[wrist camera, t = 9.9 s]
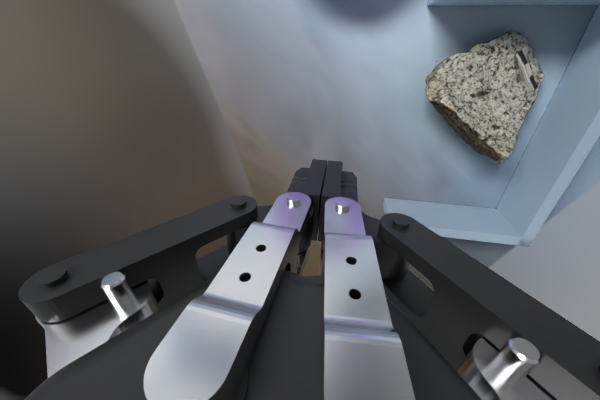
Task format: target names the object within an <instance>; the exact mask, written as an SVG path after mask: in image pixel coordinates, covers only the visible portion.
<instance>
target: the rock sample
mask: <svg viewBox="0 0 600 400" xmlns="http://www.w3.org/2000/svg"><path fill="white" fill-rule="evenodd" d="M436 62H437V61H436ZM544 78H545V75H544V74H543V72H542V70H541V68H540V66H539V64H538V62H537V60H536V59H535V57H534V56H533V52H532V47H531V46H530V45H529V43H528V39H527V38H526V37H524V36H523V35H521V34H520V33H519V32H518V33H517V32H516V31H510V32H506V33H505V34H504V35H502V36H500V37H497V38H496V39H494V40H492V41H490V42H489V43H486V44H483V43H478V44H477V45H475V46H474V47H473V48H472V49H471V50H470V51H468V52H467V53H458V54H454V55H451V56H449V57H448V58H447V59H445V60H444V61H443V62H441V63H440V64H439V65H437V66H436V67H435V69H434V70H433V71H432V72H431V74H429V75H428V76H427V77H426V84H427V86H426V88H425V89H426V95H427V96H428V100H429V101H430V103H432V104H433V105H434V107H435V109H436V110H437V111H438V112H439V113H440V114H441V115H442V116H443V118H444V119H445V120H446V121H447V123H448V124H449V125H450V126H452V127H453V128H454V130H455V131H456V132H457V133H458V134H459V135H460V136H461V138H462V139H463V140H464V141H465V142H466V143H467V144H468V143H469V144H470V145H471V146H472V147H473V148H474V150H475V151H476V152H479V153H480V154H481V155H486V156H488V157H490V158H491V159H493V160H496V161H498V162H499V163H501V162H503V160H504V159H507V158H508V157H509V156H510V154H511V153H512V151H513V147H514V145H515V144H516V140H517V137H518V131H519V129H520V128H521V126H522V125H523V122H524V120H525V117H526V115H527V113H528V112H529V110H530V108H531V106H532V104H533V103H534V101H535V99H536V97H537V93H538V90H539V86H540V84H541V82H542V81H543V80H544ZM494 165H495V164H494Z"/></svg>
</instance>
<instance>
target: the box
mask: <svg viewBox="0 0 600 400" xmlns="http://www.w3.org/2000/svg"><path fill="white" fill-rule="evenodd" d="M442 5H598V7H597V9H596V11H595V13H594V15H593V17H592V19H591V21H590V23H589V25H588V27H587V29H586V31H585V33H584V35H583V37H582V39H581V41H580V42H579V44H578V46H577V48H576V50H575V52H574V54H573V56H572V58H571V60H570V62H569V64H568V66H567V68H566V70H565V72H564V74H563V76H562V78H561V80H560V82H559V84H558V86H557V88H556V90H555V92H554V94H553V96H552V98H551V100H550V102H549V104H548V106H547V108H546V110H545V112H544V114H543V116H542V118H541V120H540V122H539V124H538V126H537V128H536V130H535V132H534V134H533V136H532V138H531V140H530V142H529V144H528V146H527V148H526V150H525V152H524V154H523V156H522V158H521V160H520V162H519V164H518V166H517V168H516V170H515V172H514V174H513V176H512V178H511V180H510V182H509V184H508V186H507V188H506V190H505V192H504V194H503V196H502V198H501V200H500V202H499V204H498V206H497V208H496V209H493V208H482V207H472V206H462V205H452V204H442V203H431V202H421V201H411V200H401V199H391V198H384V202H383V208H384V213H385V214H388V213H400V214H404V215H407V216H410V217H412V218H413V219H415V220H416V221H418V222H419V223H421V224H423V225H424V226H426V227H427V228H429V229H430V230H432V231H433V232H435V233H436V234H438V235H439V236H441V237H449V238H457V239H466V240H475V241H483V242H492V243H501V244H509V245H518V246H527V247H528V246H529V245H530V244H531V242H532V241H533V239H534V238H535V236H536V235H537V233H538V231H539V230H540V228H541V227H542V225H543V224H544V222H545V221H546V219H547V217H548V216H549V214H550V213H551V211H552V210H553V208H554V206H555V205H556V203H557V202H558V200H559V199H560V197H561V196H562V194H563V192H564V191H565V189H566V188H567V186H568V185H569V183H570V182H571V180H572V178H573V177H574V175H575V174H576V172H577V171H578V169H579V168H580V166H581V164H582V163H583V161H584V160H585V158H586V157H587V155H588V154H589V152H590V150H591V149H592V147H593V146H594V144H595V143H596V141H597V140H598V138H599V136H600V0H428V4H427V6H442Z"/></svg>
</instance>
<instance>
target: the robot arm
mask: <svg viewBox="0 0 600 400" xmlns="http://www.w3.org/2000/svg"><path fill="white" fill-rule="evenodd" d="M342 163H343V162H340V161H328V165H327V160H316V159H313V160H312V163H311V167H310V168H300V169H299V170H297V171H296V172H295V175H294V178H293V180H292V182H291V184H290V187H289V189H288V191H287V193H284V194H282V195H280V196H279V197H278V198H277V200H276V202H275V203H274V205H269V206H259V207H257V202H256V200H255V199H253V198H252V197H249V196H234V197H231V198H228V199H225V200H223V201H220V202H218V203H215V204H212V205H209V206H207V207H204V208H202V209H199V210H196V211H194V212H191V213H188V214H186V215H183V216H180V217H178V218H175V219H173V220H170V221H167V222H165V223H162V224H159V225H157V226H154V227H151V228H149V229H146V230H144V231H141V232H138V233H136V234H133V235H130V236H128V237H125V238H122V239H120V240H117V241H115V242H112V243H109V244H107V245H104V246H101V247H99V248H96V249H93V250H91V251H88V252H86V253H83V254H80V255H78V256H75V257H72V258H70V259H67V260H64V261H62V262H59V263H57V264H54V265H51V266H49V267H47V268H45V269H43V270H41V271H39V272H38V273H36V274H35V275H33V276H32V277H31V278H30V279H28V280H27V281H26V282H25V283H24V284H23V285H22V287H21V288H20V291H19V295H18V296H19V298H20V300H21V301H22V302H23V303H24V304H25V305H26V306H27V307H28V308H29V309H30V311H31V312H33V314H34V315H35V316H36V320H37V321H38V322H39V323H40V324H41V326H42V327H43V328H44V329H45V337H46V354H47V371H48V379H46V380H45V381H44V382H43V383H42V384H41V385H39V386H38V387H37V388H36V389H35V390H34V391H33V392H32V393H31V394H30V395H29V396H28V397H27V398H26V399H25V400H600V342H599V341H598V340H596V339H595V338H593V337H592V336H590V335H589V334H587V333H586V332H584V331H583V330H581V329H580V328H578V327H577V326H575V325H574V324H572V323H571V322H569V321H568V320H566V319H565V318H563V317H562V316H560V315H559V314H557V313H556V312H554V311H552V310H551V309H549V308H548V307H546V306H545V305H543V304H542V303H540V302H539V301H537V300H536V299H534V298H533V297H531V296H530V295H528V294H527V293H525V292H524V291H522V290H521V289H519V288H518V287H516V286H515V285H513V284H512V283H510V282H509V281H507V280H506V279H504V278H503V277H501V276H499V275H498V274H497V273H495V272H494V271H492V270H491V269H489V268H488V267H486V266H484V265H483V264H481V263H480V262H478V261H477V260H475V259H474V258H472V257H471V256H469V255H468V254H466V253H465V252H463V251H462V250H460V249H459V248H457V247H456V246H454V245H453V244H451V243H450V242H448V241H447V240H445V239H444V238H442V237H441V236H439V235H438V234H436V233H435V232H433V231H432V230H430V229H429V228H427V227H426V226H424V225H423V224H421V223H419V222H418V221H416V220H415V219H413V218H412V217H410V216H407V215H404V214H400V213H388V214H385V215H384V216H382V217H381V220H378V219H375V218H372V217H370V216H367V215H366V214H364V213H363V212H362V211H361V207H360V205H359V204H358V198H357V177H356V176H355V175H354V174H353V173H352V172H345V171H342ZM318 229H319V235H318ZM225 235H226V239H227V245H225V246H223V247H221V248H219V249H217V250H215V251H213V252H211V253H209V254H207V255H205V256H203V257H201V258H199V259H196V258H195V255H196V252H197V250H198V249H199V248H200V247H201V246H204V245H205V244H208V243H210V242H212V241H214V240H216V239H218V238H220V237H223V236H225ZM317 235H318V241H322V244H321V255H320V276H301V275H302V272H303V269H304V266H305V263H306V259H307V256H308V252H309V246H310V244H311V240H315V241H317ZM409 263H410V264H411V265H412V266H413V267H415V268H416V269H417V270H418V271H419V272H421V273H422V274H423V275H424V276H425V277H427V278H428V279H429V280H430V282H431V283H432V285H433V288H434V292H433V291H432V290H431V289H430V288H429V287H428V286H426V285H425V284H424V283H423V282H422V281H421V280H419V279H418V278H417V277H416V276H415V275H414V274H412V273H411V272H410V271H409V270H408V266H409ZM386 298H387V299H386Z"/></svg>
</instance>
